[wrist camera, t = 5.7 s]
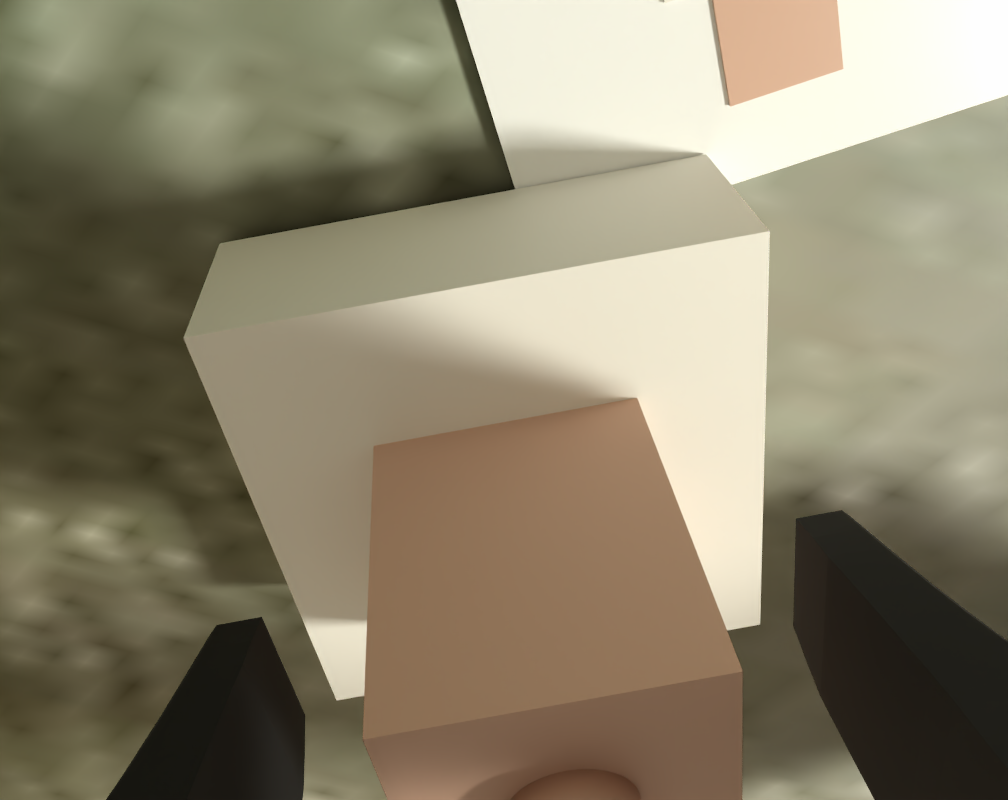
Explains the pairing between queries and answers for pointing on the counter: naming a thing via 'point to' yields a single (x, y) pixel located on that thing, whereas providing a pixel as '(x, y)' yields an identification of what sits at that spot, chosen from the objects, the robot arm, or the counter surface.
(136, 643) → the counter surface
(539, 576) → the top brick
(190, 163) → the counter surface
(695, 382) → the base brick
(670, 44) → the page
